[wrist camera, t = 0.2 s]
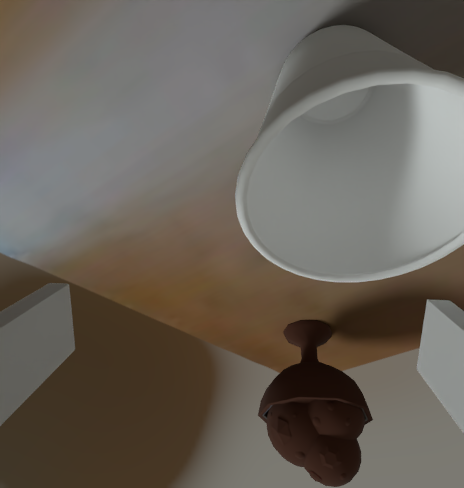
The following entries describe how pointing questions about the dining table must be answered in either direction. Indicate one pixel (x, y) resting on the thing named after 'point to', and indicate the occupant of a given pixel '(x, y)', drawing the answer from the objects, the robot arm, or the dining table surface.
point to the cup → (356, 162)
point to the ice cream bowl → (315, 411)
